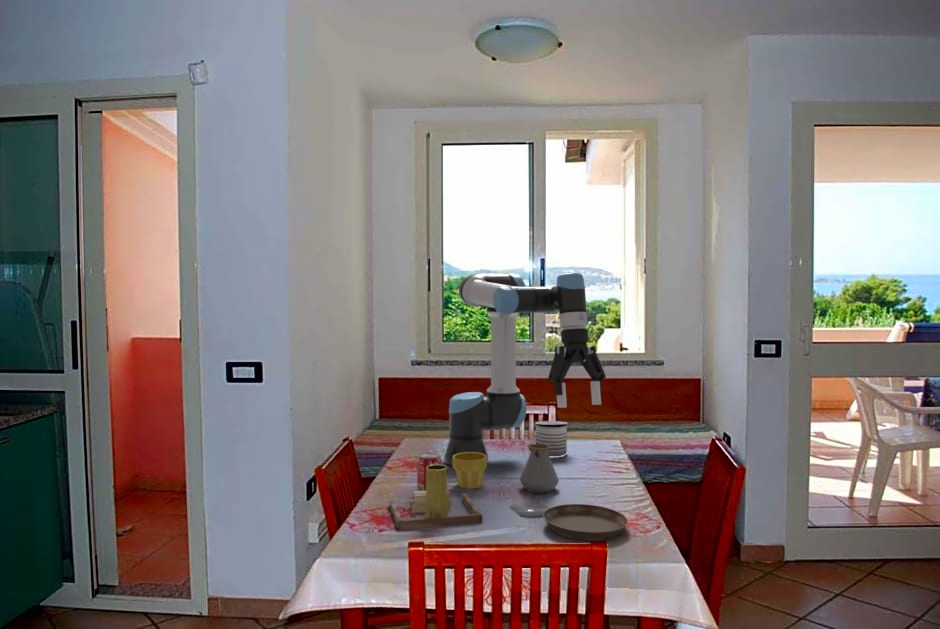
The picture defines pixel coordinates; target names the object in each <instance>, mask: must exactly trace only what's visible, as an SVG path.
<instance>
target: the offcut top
mask: <svg viewBox="0 0 940 629" xmlns="http://www.w3.org/2000/svg"><path fill="white" fill-rule="evenodd" d="M413 499H414V501H415V504H417V503H426V491H417V490H415V491H413ZM449 499H450V492H449V491H448V490H447V501H449Z"/></svg>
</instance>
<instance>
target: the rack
mask: <svg viewBox="0 0 940 629" xmlns="http://www.w3.org/2000/svg"><path fill="white" fill-rule="evenodd" d="M461 499H462V500H461V501H462V503H463V504H464V506H466V508H467V510H469V513H471V514H459V515H448V516H444V517H432V518H425V517H422V518H410V519H402V517H401V514H400V512H399V509H398V507H397V504H396V502H395V499H394V498H389V508H390V511H391V513H392V517H393V520H394V522H395V526H396V527H397V530H408V529H409V530H411V529H419V528H421V529H423V528H434V527H446V526H455V525H456V526H457V525H458V526H459V525H469V524H483V514H482V513H481V511H480V510H479V509H478V507H477V506H476V505H475V503H474V502H473V501H472V499H471V498H470V497H469V495H468V494H467V493H462V494H461Z"/></svg>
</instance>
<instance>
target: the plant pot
mask: <svg viewBox="0 0 940 629" xmlns="http://www.w3.org/2000/svg"><path fill="white" fill-rule="evenodd" d="M452 463H453V466H452V468H453V470H454V471H455V476H456V480H457V485H458V487H460V488H463V489H477V488H481V487H482V485H483V481H484V474H485V469H487V467H488V463H487V456H486V455H485V454H482V453H477V452H464V453H458V454H455V455H453V457H452Z"/></svg>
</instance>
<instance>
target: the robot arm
mask: <svg viewBox="0 0 940 629" xmlns="http://www.w3.org/2000/svg"><path fill="white" fill-rule="evenodd" d="M525 283H526V282H524V280H523V278H522V277H521V276H520V275H519V274H516V273H510V272H509V273H508V272H505V273H503V272H502V273H500V272H499V273H498V272H496V273H494V272H493V273H491V272H489V273H488V272H487V273H486V272H485V273H484V272H480V273H479V272H478V273H473V274H472V273H471V274H470V275H468V276H466V277H464V278H463V279H462V280H461V282H460V285H459V287H458V295H459V297H460V299H461V301H462V302H463V303H464V304H466V305H467V306H470V307H478V308H486V313H487V314H488V315H489V316H490V318H491V319H490V323H491V324H490V355H491V356H490V386H489V387H488V388H487V389H486V395H484V394H483V392H480V391H472V392H471V391H469V392H463V393H459V394H455V395H453V396H452V397H451V398H450V399H449V405H448V406H449V408H448V413H449V415H448V417H449V418H448V419H449V420H448V421H449V423H448V425H449V426H448V429H449V430H448V432H449V434H448V435H449V436H448V443H447V445H446V449H445V453H444V457H443V460H444V461H445V462H446V463H447V464H446V463H445V462H444V461H443V462H444V463H445V464H446V465H448V464H450V465H449V466H451V465H453V463H452V457H453V455H455V454H458V453H464V452H477V453H482V454H485V455H486V456H487V461H488V462H489V455H488V454H489V453H488V451H487V447H486V444H485V441H484V431H489V430H490V431H491V430H502V429H503V430H504V429H506V430H509V429H513V428H519V427H520V426H521V425H522V424H523V423H524V421H525V418H526V414H527V402H526V398H525V396H524V394H521V390H520V388H518V387H517V384H516V382H517V381H516V380H517V378H516V376H517V375H516V374H517V373H516V371H517V370H516V369H517V368H516V366H517V364H516V360H517V356H516V355H517V353H516V351H517V348H516V347H517V343H516V342H517V341H516V340H517V334H516V333H517V329H516V328H517V323H516V322H517V319H516V318H517V316H518V315H519V314H521V313H522V314H523V313H525V314H527V313H530V314H531V313H532V314H536V313H537V314H541V313H543V314H545V315H552V314H553V315H555V314H557V313H558V314H559V316H558V317H559V327H560V329H562V330H561V331H560V339H561V341H560V342H561V344H563V345H561V346H560V345H559V346H555V347H554V355H553V356H554V357H553V360H552V362H551V367H550V371H549V374H548V378H547V379H548V381H549V382H551V384H554V394H555V396H556V402H557V408H558V409H560V408H563V409H564V408H567V407H568V406H567V393H566V392H567V391H566V390H567V389H566V382H564V380H565V378H566V376H567V373H568V372H569V370H570V369H571V366H572V364H575V363H577V364H578V363H579V364H581V365H582V368H584V370H585V371H586V372H587V374H588V375H589V377H590V378H591V381H590V392H591V393H590V394H591V395H590V397H591V405H592V406H593V405H594V406H595V405H596V406H599V405H600V406H601V405H602V398H601V397H602V396H601V392H602V386H601V385H602V384H601V382H603V381H604V379H606V373H605V370H604V367H603V366H602V364H601V362H600V358H599V356H598V355H597V348H596V346H595V345H589V346H588V344H587V343H588V342H589V341H590V340H589V329H588V328H587V327H588V316H587V300H586V285H585V280H584V275H583V274H582V273H579V272H567V273H561V274H559V275H557V277H556V285H554V286H526V284H525Z"/></svg>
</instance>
